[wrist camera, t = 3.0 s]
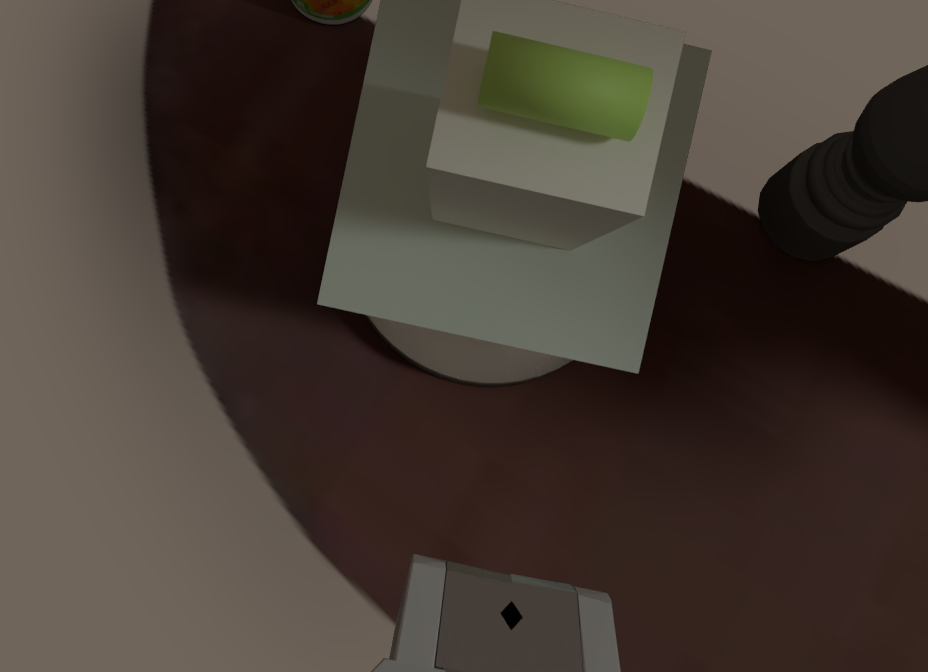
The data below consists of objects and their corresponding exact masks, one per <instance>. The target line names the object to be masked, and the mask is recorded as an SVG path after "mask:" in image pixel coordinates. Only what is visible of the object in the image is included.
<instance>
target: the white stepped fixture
mask: <svg viewBox="0 0 928 672" xmlns="http://www.w3.org/2000/svg"><path fill="white" fill-rule="evenodd" d="M685 33H686V32H684V31H680V30H676V29H672V28H668V27H663V26H659V25H655V24H650V23H647V22H642V21H638V20H634V19H630V18H626V17H621V16H617V15H612V14H609V13H605V12H600V11H596V10H592V9H588V8H584V7H579V6H575V5H571V4H567V3H562V2H558V1H554V0H381V1H380V6H379V11H378V16H377V20H376V25H375V30H374V35H373V39H372V44H371V49H370V54H369V58H368V63H367V68H366V73H365V78H364V82H363V87H362V92H361V97H360V101H359V106H358V111H357V116H356V121H355V125H354V130H353V135H352V140H351V144H350V149H349V154H348V159H347V163H346V168H345V173H344V178H343V183H342V187H341V192H340V197H339V202H338V206H337V211H336V216H335V221H334V226H333V230H332V235H331V240H330V245H329V249H328V254H327V259H326V264H325V268H324V273H323V278H322V283H321V288H320V292H319V297H318V302H317V304H318V305H323V306H327V307H332V308H337V309H341V310H346V311H351V312H355V313H360V314H364V315H369V316H374V317H378V318H383V319H388V320H392V321H397V322H401V323H406V324H411V325H415V326H420V327H425V328H429V329H434V330H438V331H443V332H448V333H452V334H457V335H462V336H466V337H471V338H475V339H480V340H485V341H489V342H494V343H499V344H503V345H508V346H512V347H517V348H522V349H526V350H531V351H536V352H540V353H545V354H549V355H554V356H559V357H563V358H568V359H573V360H577V361H582V362H586V363H591V364H596V365H600V366H605V367H610V368H614V369H619V370H623V371H628V372H633V373H637V374H638V373H639V369H640V365H641V360H642V356H643V351H644V347H645V343H646V338H647V334H648V329H649V325H650V321H651V316H652V312H653V307H654V303H655V298H656V294H657V290H658V285H659V281H660V276H661V272H662V268H663V263H664V259H665V254H666V250H667V246H668V241H669V237H670V232H671V228H672V224H673V219H674V215H675V210H676V206H677V202H678V197H679V193H680V188H681V184H682V180H683V175H684V171H685V166H686V162H687V158H688V153H689V149H690V144H691V140H692V135H693V131H694V127H695V122H696V118H697V113H698V109H699V104H700V100H701V96H702V91H703V87H704V82H705V78H706V74H707V69H708V65H709V61H710V56H711V52H712V51H711V50H707V49H703V48H699V47H695V46H690V45H686V44H683V42H684V37H685Z"/></svg>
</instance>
